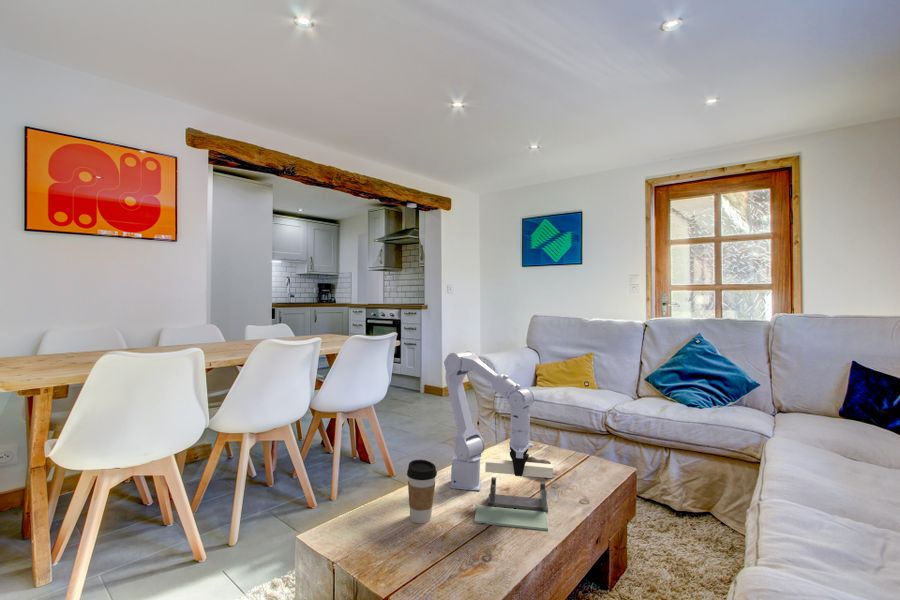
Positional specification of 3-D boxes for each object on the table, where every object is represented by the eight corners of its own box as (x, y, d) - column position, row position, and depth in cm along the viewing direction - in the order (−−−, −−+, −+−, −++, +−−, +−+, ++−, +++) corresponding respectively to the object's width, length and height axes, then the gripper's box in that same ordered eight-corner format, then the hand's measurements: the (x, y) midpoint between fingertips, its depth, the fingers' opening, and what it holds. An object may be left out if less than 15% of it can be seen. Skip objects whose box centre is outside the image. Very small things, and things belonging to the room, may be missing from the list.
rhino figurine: (518, 467, 159) (518, 451, 159) (554, 476, 152) (555, 459, 152) (513, 471, 155) (514, 455, 155) (551, 480, 148) (551, 463, 148)
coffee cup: (422, 507, 126) (423, 456, 126) (441, 518, 120) (443, 465, 120) (399, 517, 121) (400, 463, 120) (418, 529, 114) (420, 473, 114)
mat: (474, 522, 119) (474, 520, 119) (476, 507, 128) (476, 505, 128) (548, 530, 116) (548, 528, 116) (545, 514, 125) (545, 512, 125)
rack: (487, 506, 128) (488, 486, 128) (489, 496, 135) (489, 477, 135) (548, 512, 126) (548, 492, 126) (546, 501, 133) (546, 482, 133)
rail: (485, 471, 130) (485, 462, 130) (485, 468, 133) (486, 458, 133) (552, 478, 127) (553, 468, 127) (551, 474, 130) (552, 464, 130)
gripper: (534, 437, 123) (532, 484, 123) (532, 422, 137) (530, 465, 137) (509, 435, 124) (507, 482, 124) (509, 421, 138) (508, 463, 138)
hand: (518, 473), depth 130 cm, fingers closed on rail, 3 cm apart
